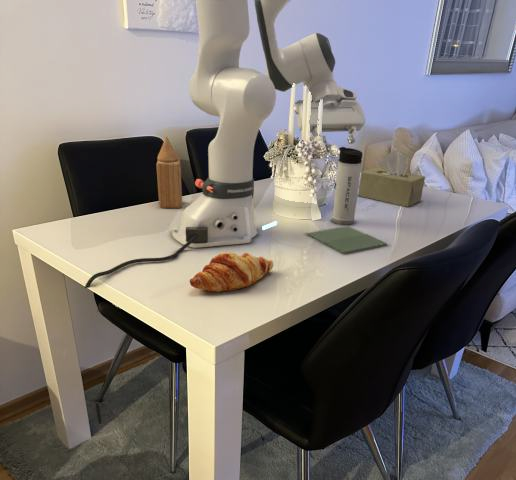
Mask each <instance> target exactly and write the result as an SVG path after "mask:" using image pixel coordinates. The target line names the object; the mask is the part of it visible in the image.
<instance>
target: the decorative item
mask: <svg viewBox="0 0 516 480" xmlns="http://www.w3.org/2000/svg"><path fill="white" fill-rule="evenodd" d="M156 159H157V162H156V177H157V191H158V192H157V193H158V205H159V207H160V208H161V209H180V208H182V205H183V189H182V169H181V168H182V167H181V159H180V158H179V156H178V155H177V153H176V151H175V149H174V147H173V145H172V143H171V141H170V139H169V138H168V136H165V139H164V141H163V143H162V145H161V148H160V150H159V152H158V154H157V158H156Z"/></svg>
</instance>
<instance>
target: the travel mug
mask: <svg viewBox="0 0 516 480" xmlns="http://www.w3.org/2000/svg"><path fill="white" fill-rule="evenodd" d="M338 151H339V157H338V158H339V159H338V162H337V170H336V171H337V172H336V179H337V180H336V179H335V180H336V181H335V183H336V187H335V191H334V200H333V208H332V209H333V210H332V216H331V217H332V218H331V221H332V222H333V223H335V224H336V225H341V226H345V225H353V224H354V222H355V215H356V208H357V200H358V193H359V186H360V178H361V172H362V170H361V169H362V161H363V160H362V159H363V152H362V151H361V150H359V149H355V148H350V147H346V146H341V147H339V149H338ZM338 163H339V164H338Z"/></svg>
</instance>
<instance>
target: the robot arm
mask: <svg viewBox="0 0 516 480" xmlns="http://www.w3.org/2000/svg"><path fill="white" fill-rule="evenodd" d="M290 1H291V0H254V1H253V2H254V9H255V14H256V21H257V26H258V30H259V35H260V41H261V46H262V50H263V54H264V61H265V64H264V65H265V73H266V75H265V74H264V73H262V72H260V71H257V70H256V69H254V68H248V67H240V55H241V49H242V46H243V44H244V42H245V41H246V40H247V39H248V37H249V35H250V29H251V28H250V16H249V15H250V14H249V3H248V0H195V9H196V18H197V19H196V20H197V27H198V54H197V63H196V68H195V71H194V72H193V74H192V75H191V78H190V80H189V83H188V84H189V85H188V93H189V97H190V100H191V101H192V103H193V105H194V106H195V107H197V108H198V109H199V110H200V111H203V112H205V114H207V115H209V116H214V117H218V118H219V125H218V129H217V132H216V135H215V137H214V138H213V139H212V140H211V141H210V142H209V144H208V149H207V152H208V153H207V156H208V177H207V179H206V180H202V179H201V178H197V179H196V180H195V182H194V184H195V186H196V187H197V188H198V189H202V193H201V194H200V195H199V196H198V197H196V199H194V200H193V201H192V202H191V203H190V204H189V205H188V206H186V208H184V209H183V211H182V212H181V217H180V226H177V227H174V228H173V229H172V232H171V233H172V237H173V238H174V240H176V241H177V242H178V243H179V244H181V245H182V246H181V247H180V248H178V249H177V250H176V251H175V252H174V253H173V254H170V255H167V256H161V257H144V258H143V257H142V258H133V259H131V260H127V261H124V262H121V263H120V264H117V265H116V266H114V267H111V269H108V270H104V271H100V272H96V273H95V274H93V275H92V276H91V277H90V278H89V279H88V280H87V282H86V283H85V284H84V289H88V288H90V287H91V285H92V283H93V282H94V281H95V280H96V279H98V278H99V277H103V276H108V275H110V274H112V273H114V272H116V271H118V270H120V269H122V268H123V267H126V266H129V265H132V264H138V263H150V262H154V263H155V262H164V261H168V260H169V261H170V260H172V259H174V258H176V257H178V255H180V253H182V252H183V251H184V250H185V249H186V248H188V247H190V248H195V249H197V248H208V247H219V246H232V245H241V244H250V243H251V241H252V239H253V238H254V237H256V235H257V234H258V230H257V229H258V228H257V225H256V221H255V214H254V203H253V200H254V194H255V179H254V178H253V171H254V170H253V168H254V151H255V144H256V140H257V137H258V134H259V131H260V129H261V126H262V124H263V123H264V122H265V120H266V119H268V118H269V117H270V116H271V114H272V112H273V111H274V109H275V106H276V101H277V92H276V91H280V92H284V93H285V92H287V91H288V90H290V89H292V88H293V87H292V85H293V83H295V84H296V85H299V84H301V83H303V86H304V87H305V85H306V86H307V87H308V89H309V91H310V92H311V95H312V101H311V115H310V120H309V124H310V132H309V133H311V135H312V136H313V137H314V138H315V137H316V136H318V133H317V120H318V121H319V119H318V106H319V102H320V99H321V98H322V99H323V116H322V132H320V134H319V136H320V137H321V134H322V133H335V132H339V133H340V132H341V133H342V132H347V133H348V134H350V135H349V136H348V137H347V142H348V144H349V145H351V144H355V143H356V141H357V139H356V132H360V131H361V130H362V128H363V127H364V125H365V124H366V117H365V114H364V111H363V108H362V106H361V104H360V103H359V102H358V101H357V98H358V97H357V94H356V92H355V91H352V90H349V89H346V88H344V87H342V86H340V85H338V84H337V82H336V81H335V78H334V69H335V66H336V58H335V56H334V54H333V51H332V46H331V43H330V39H329V38H328V37H327V36H325V35H324V34H322V33H319V32H315V33H312V34H310V35H308V36H306V37H303V38H301V39H300V40H297V41H295V42H294V43H291V44H290V45H287V46H285V47H283V48H279V46H278V40H277V35H276V29H275V22H276V20H277V17H278V16H279V14H280V13H281V11H282V10H283V9H284V8H285V7H286V6H287V4H289V2H290ZM296 85H295V86H296ZM303 101H304V100H302V99H299V100H297V101H296V102H294V103H295V107H294V106H293V110H294V113H295V115H296V123H297V129H298V130H299V132H301V130H302V116H303ZM318 125H319V124H318ZM326 138H327V137H326V135H322V137H321V139H322V140H323V142H324V143H325V144H326V143H327V139H326ZM277 225H278V221H276V220H275V221H272V222H270V223H268V224H265V225H262V226H261V227H262V228H261V229H262V231H264V230H267V229H269V228H272V227H275V226H277ZM94 405H95V412H96V417H97V424H99V425H101V424H102V423H103V421H102V415H101V409H100V404H99V402H97V403H94Z"/></svg>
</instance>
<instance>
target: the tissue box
mask: <svg viewBox="0 0 516 480" xmlns="http://www.w3.org/2000/svg"><path fill="white" fill-rule="evenodd" d="M376 161H377V164H378V165H379V166H380V167H377V166H376V167H375V166H374V167H372V168H369V169H365V170H361V171H360V178H359V186H358V194H357V197H360V198H366V199H370V200H374V201H379V202H383V203H388V204H393V205H397V206H402V207H406V208H409V207H410V206H413V205H415V204H417V203H420V202H421V200H422V194H423V190H424V186H425V185H424V184H425V180H426V176H424V175H419V174H415V173H414V174H413V173H408V172H407V169H408V163H409V161H410V160H409V159H408V157H407V155H406V154H402V155H401V154H400V153H399V150H398V149H396V148H395V149H392V150H391V151H390V152H389V153H388V154H382V155H381V156H380V157H379V158H377V159H376Z"/></svg>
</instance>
